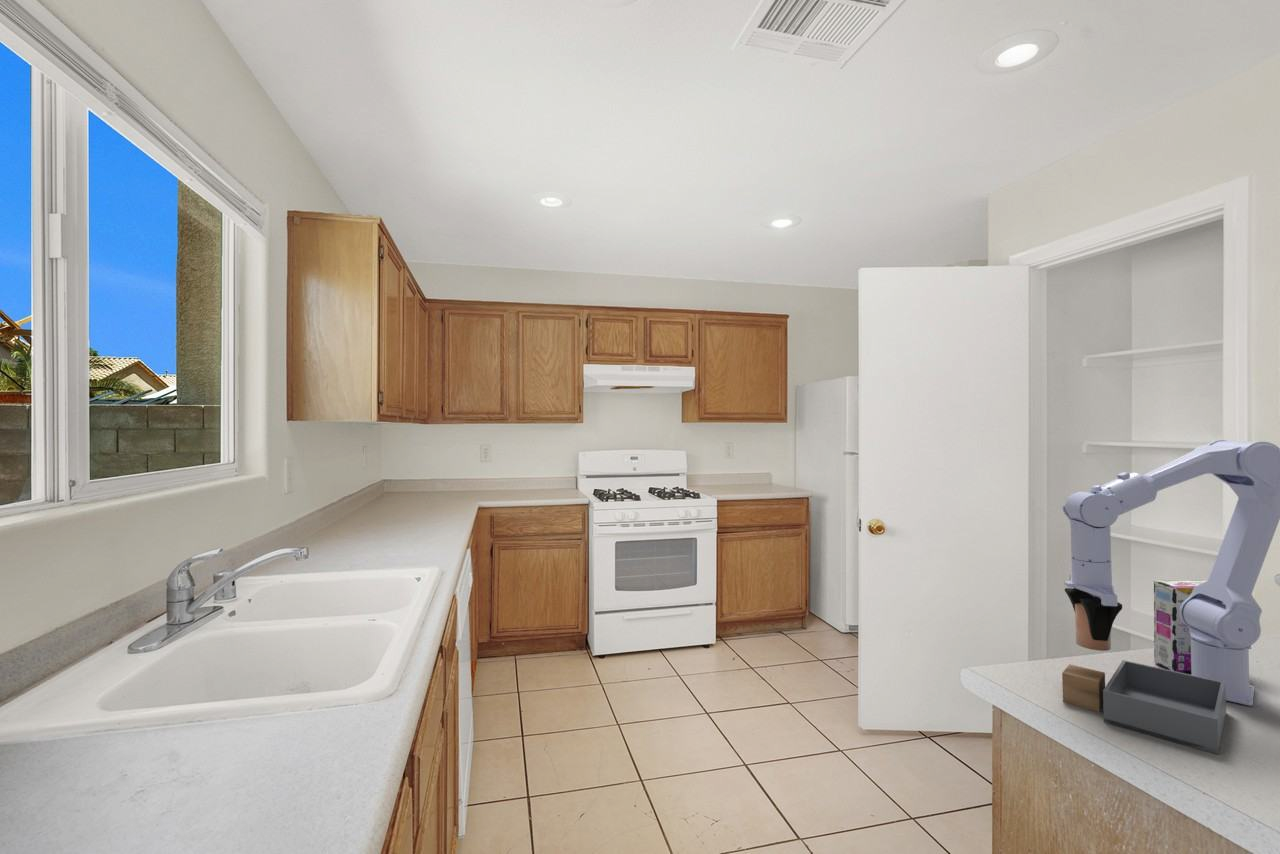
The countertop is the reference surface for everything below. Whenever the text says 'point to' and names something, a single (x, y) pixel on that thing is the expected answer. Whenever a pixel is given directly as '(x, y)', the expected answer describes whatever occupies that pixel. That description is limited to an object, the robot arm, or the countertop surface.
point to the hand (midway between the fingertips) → (1093, 634)
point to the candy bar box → (1172, 625)
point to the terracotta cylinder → (1087, 632)
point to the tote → (1167, 705)
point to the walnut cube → (1083, 687)
